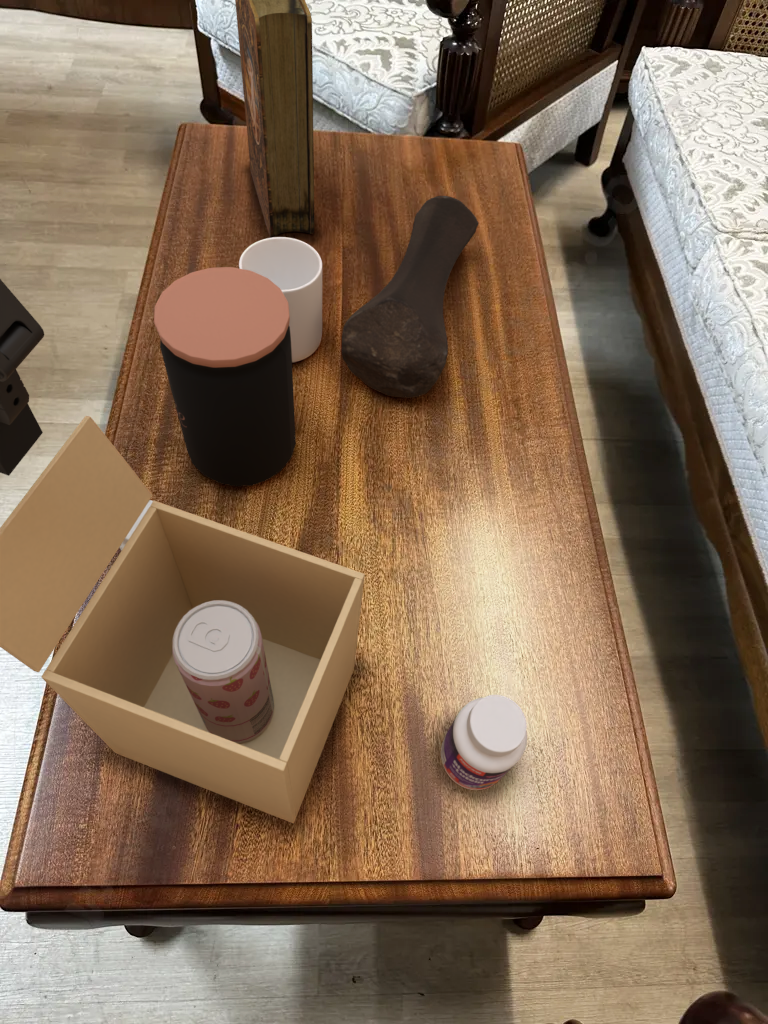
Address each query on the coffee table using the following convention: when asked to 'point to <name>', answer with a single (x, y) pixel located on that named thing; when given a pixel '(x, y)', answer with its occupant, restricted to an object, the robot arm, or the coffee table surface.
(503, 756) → the pill bottle
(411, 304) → the dark brown bone
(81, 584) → the flap
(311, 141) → the book
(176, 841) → the coffee table surface
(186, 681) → the beverage can
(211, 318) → the coffee jar
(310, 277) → the mug
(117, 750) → the carton
